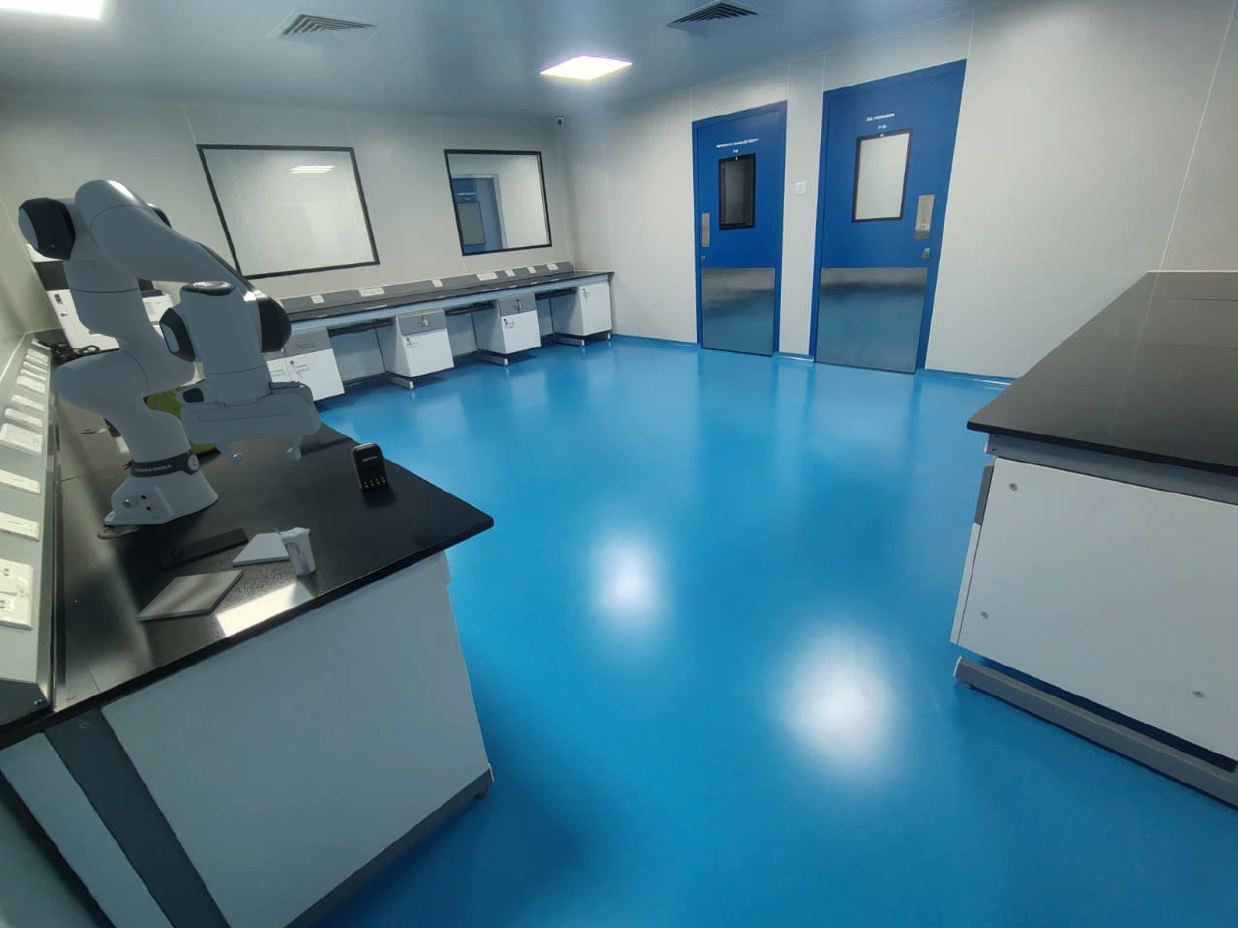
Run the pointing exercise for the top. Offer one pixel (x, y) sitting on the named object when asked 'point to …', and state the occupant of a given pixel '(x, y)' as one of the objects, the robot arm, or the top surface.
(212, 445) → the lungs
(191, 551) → the phone
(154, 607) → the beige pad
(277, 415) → the robot arm
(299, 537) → the milkshake
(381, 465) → the battery charger
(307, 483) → the top surface
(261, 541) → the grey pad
